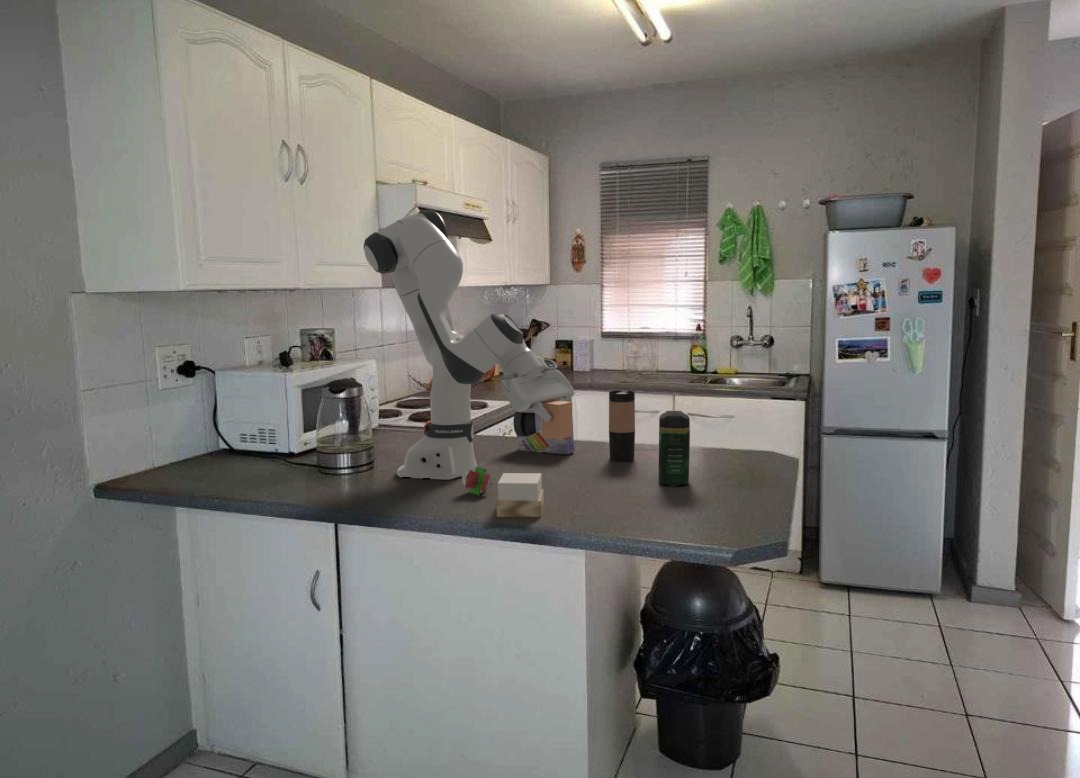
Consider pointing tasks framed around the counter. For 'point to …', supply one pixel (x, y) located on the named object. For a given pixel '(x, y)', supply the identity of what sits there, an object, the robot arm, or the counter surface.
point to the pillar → (558, 420)
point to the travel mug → (621, 425)
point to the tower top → (520, 486)
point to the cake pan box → (538, 435)
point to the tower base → (520, 507)
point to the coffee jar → (674, 448)
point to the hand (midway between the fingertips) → (559, 418)
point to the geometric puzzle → (476, 480)
